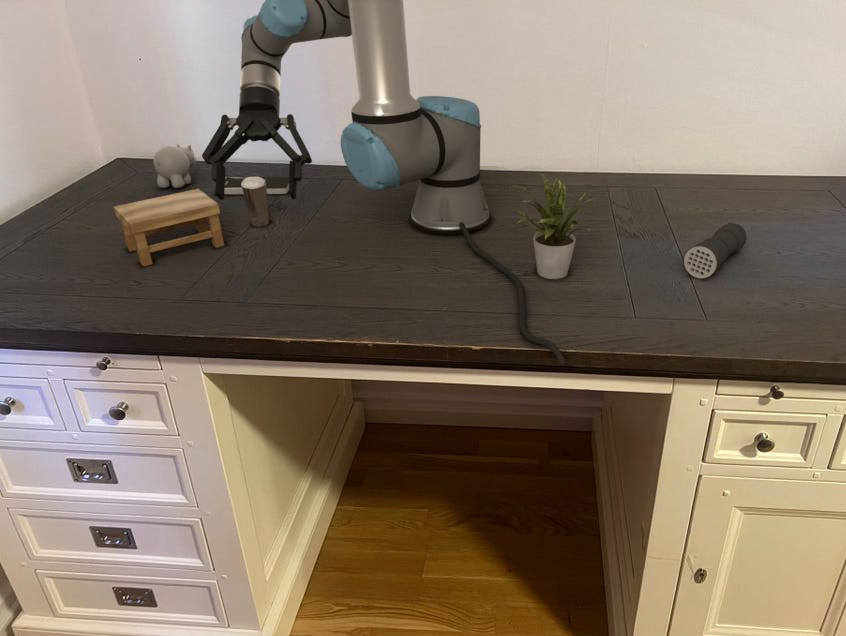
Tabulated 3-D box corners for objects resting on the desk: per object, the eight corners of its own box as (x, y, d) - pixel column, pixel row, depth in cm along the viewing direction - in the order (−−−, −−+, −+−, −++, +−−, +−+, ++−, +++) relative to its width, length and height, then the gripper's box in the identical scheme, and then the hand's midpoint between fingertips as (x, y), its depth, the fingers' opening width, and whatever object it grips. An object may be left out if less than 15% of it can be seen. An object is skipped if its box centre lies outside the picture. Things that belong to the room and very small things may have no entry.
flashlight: (717, 244, 131) (722, 216, 129) (745, 252, 129) (752, 223, 126) (681, 273, 121) (687, 243, 118) (712, 282, 118) (718, 252, 116)
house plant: (493, 259, 126) (494, 167, 117) (564, 247, 130) (570, 158, 121) (526, 294, 115) (529, 196, 106) (602, 280, 119) (612, 185, 110)
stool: (226, 245, 131) (218, 204, 126) (142, 267, 123) (129, 223, 118) (207, 229, 137) (198, 188, 133) (125, 248, 129) (113, 206, 125)
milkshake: (270, 229, 137) (261, 178, 132) (244, 227, 138) (234, 176, 133) (280, 220, 141) (272, 170, 135) (255, 218, 142) (246, 168, 136)
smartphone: (286, 188, 153) (214, 188, 152) (286, 194, 153) (215, 195, 153) (292, 176, 159) (223, 177, 158) (292, 182, 160) (224, 183, 159)
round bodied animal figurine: (212, 174, 164) (204, 137, 159) (181, 192, 154) (172, 152, 150) (184, 172, 166) (176, 134, 161) (152, 189, 156) (142, 150, 151)
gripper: (327, 105, 144) (325, 203, 140) (202, 106, 143) (196, 205, 139) (320, 83, 137) (318, 186, 132) (188, 84, 136) (181, 188, 131)
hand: (256, 196), depth 135 cm, fingers open, 13 cm apart
